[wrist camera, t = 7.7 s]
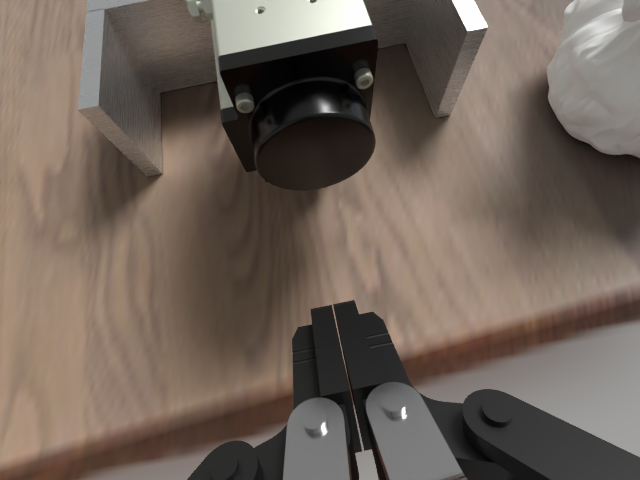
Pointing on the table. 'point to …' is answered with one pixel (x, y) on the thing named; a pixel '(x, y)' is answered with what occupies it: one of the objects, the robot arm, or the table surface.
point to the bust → (599, 75)
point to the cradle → (199, 65)
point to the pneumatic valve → (295, 86)
